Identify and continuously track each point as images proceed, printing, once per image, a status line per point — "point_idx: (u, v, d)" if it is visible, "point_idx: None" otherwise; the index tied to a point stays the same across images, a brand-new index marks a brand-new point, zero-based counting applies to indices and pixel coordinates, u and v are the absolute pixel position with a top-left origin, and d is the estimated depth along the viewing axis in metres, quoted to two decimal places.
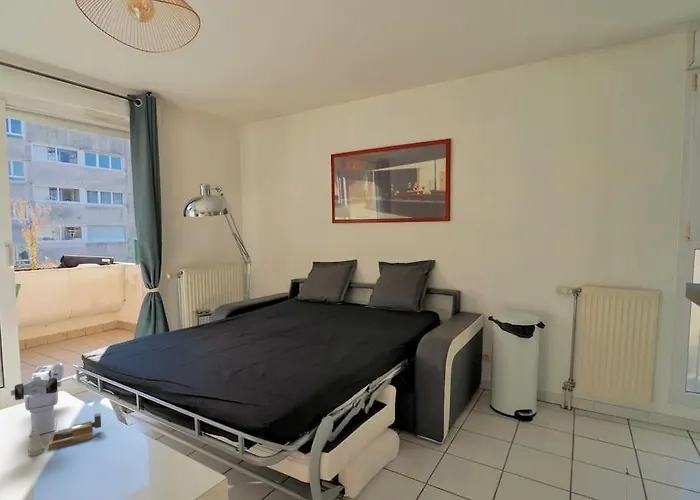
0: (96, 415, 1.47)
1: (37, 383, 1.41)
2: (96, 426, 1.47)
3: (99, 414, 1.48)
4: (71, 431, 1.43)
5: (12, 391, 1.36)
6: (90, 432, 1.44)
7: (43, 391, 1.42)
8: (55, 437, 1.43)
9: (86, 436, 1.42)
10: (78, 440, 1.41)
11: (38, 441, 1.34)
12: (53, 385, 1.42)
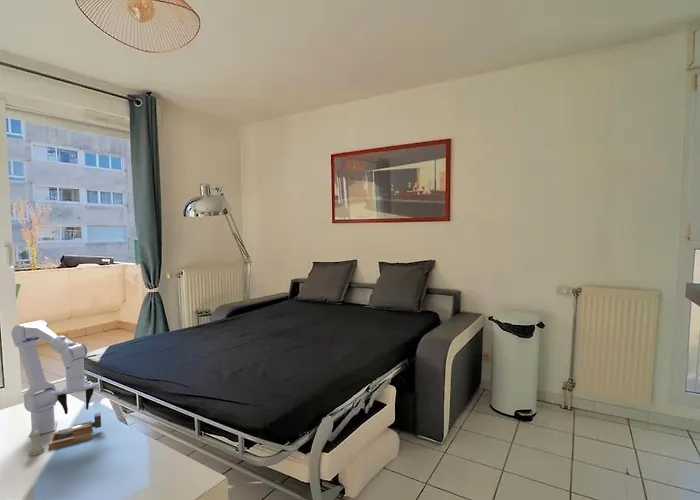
0: (96, 415, 1.47)
1: None
2: (96, 426, 1.47)
3: (99, 414, 1.48)
4: (71, 431, 1.43)
5: None
6: (90, 432, 1.44)
7: None
8: (55, 437, 1.43)
9: (86, 436, 1.42)
10: (78, 440, 1.41)
11: (38, 441, 1.34)
12: None
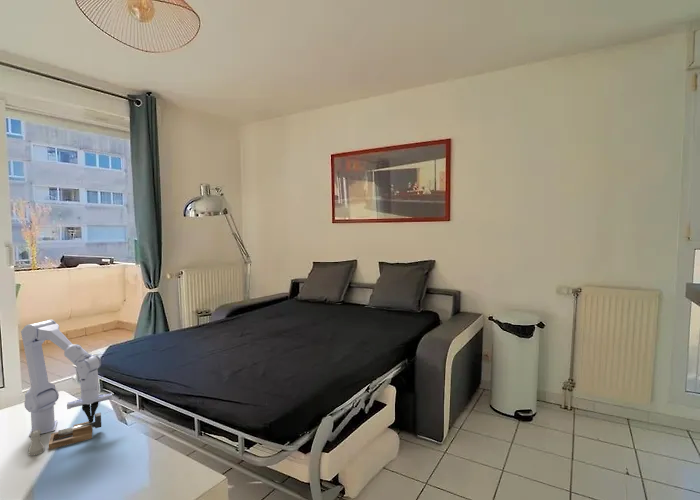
0: (96, 415, 1.47)
1: None
2: (96, 426, 1.47)
3: (99, 414, 1.48)
4: (71, 431, 1.43)
5: None
6: (90, 432, 1.44)
7: None
8: (55, 437, 1.43)
9: (86, 436, 1.42)
10: (78, 440, 1.41)
11: (38, 441, 1.34)
12: None
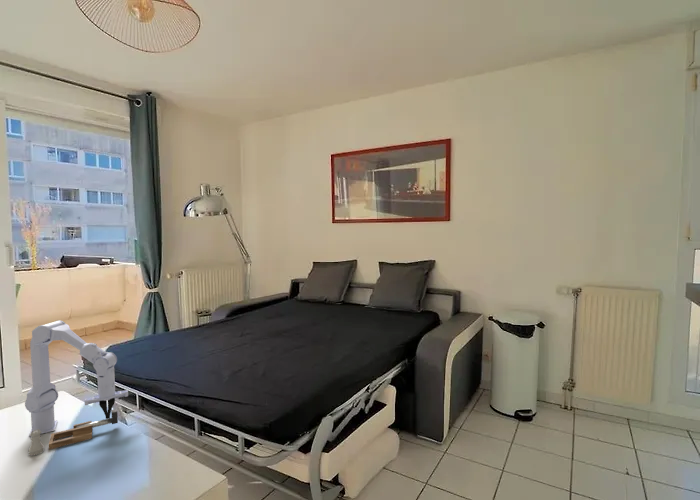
0: (113, 411, 1.50)
1: None
2: (113, 422, 1.50)
3: (116, 410, 1.51)
4: None
5: None
6: (90, 432, 1.44)
7: None
8: (55, 437, 1.43)
9: (86, 436, 1.42)
10: (78, 440, 1.41)
11: (38, 441, 1.34)
12: None
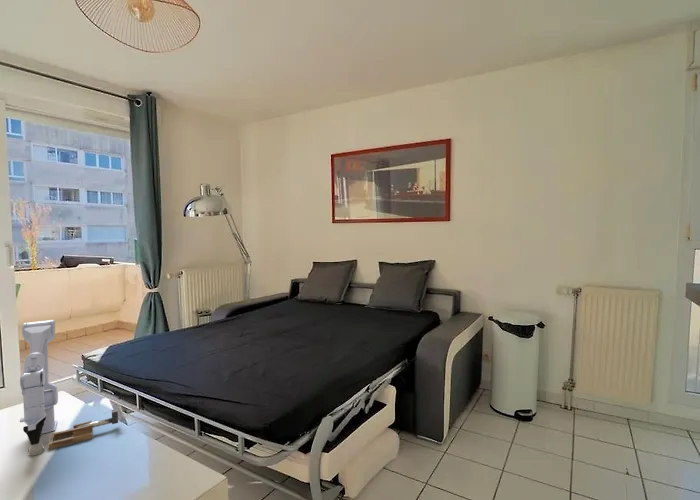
0: (113, 411, 1.51)
1: None
2: (113, 422, 1.50)
3: (116, 410, 1.51)
4: None
5: None
6: (90, 432, 1.44)
7: None
8: (55, 437, 1.43)
9: (86, 436, 1.42)
10: (78, 440, 1.41)
11: None
12: None
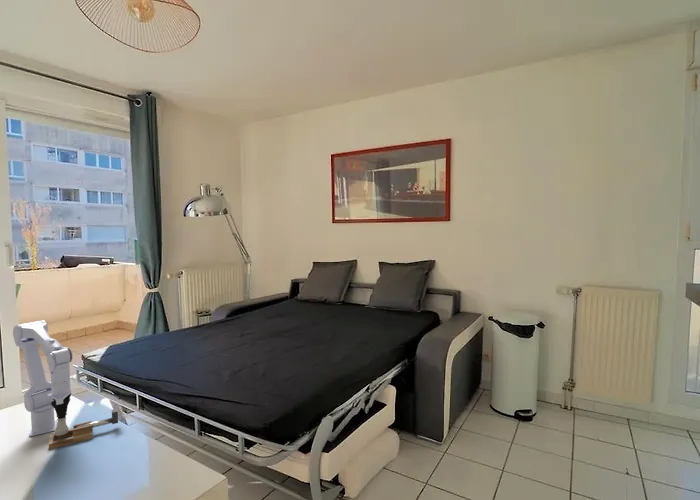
0: (113, 411, 1.51)
1: None
2: (113, 422, 1.50)
3: (116, 410, 1.51)
4: None
5: None
6: (90, 432, 1.44)
7: None
8: (55, 437, 1.43)
9: (86, 436, 1.42)
10: (78, 440, 1.41)
11: (64, 422, 1.41)
12: None
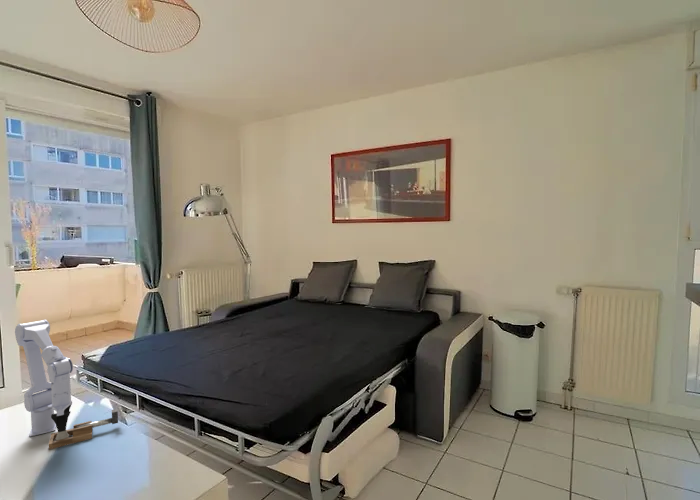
0: (113, 411, 1.51)
1: None
2: (113, 422, 1.50)
3: (116, 410, 1.51)
4: None
5: None
6: (90, 432, 1.44)
7: None
8: (55, 437, 1.43)
9: (86, 436, 1.42)
10: (78, 440, 1.41)
11: None
12: None
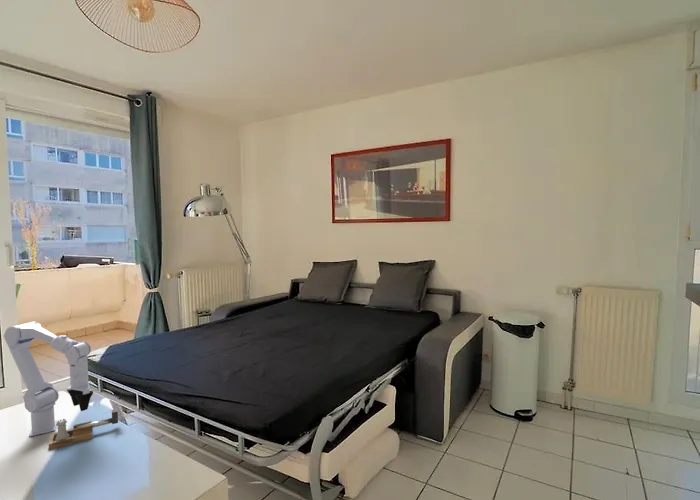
0: (113, 411, 1.51)
1: None
2: (113, 422, 1.50)
3: (116, 410, 1.51)
4: None
5: None
6: (90, 432, 1.44)
7: None
8: (55, 437, 1.43)
9: (86, 436, 1.42)
10: (78, 440, 1.41)
11: (64, 430, 1.42)
12: None
